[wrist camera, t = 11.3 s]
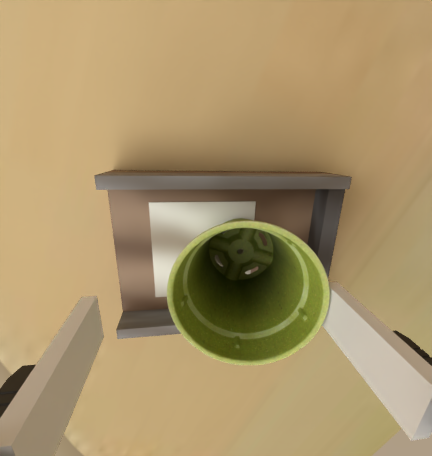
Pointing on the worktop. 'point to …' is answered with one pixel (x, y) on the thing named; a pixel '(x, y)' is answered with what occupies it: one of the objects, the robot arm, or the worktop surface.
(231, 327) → the plant pot
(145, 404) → the worktop surface
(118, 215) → the dock
